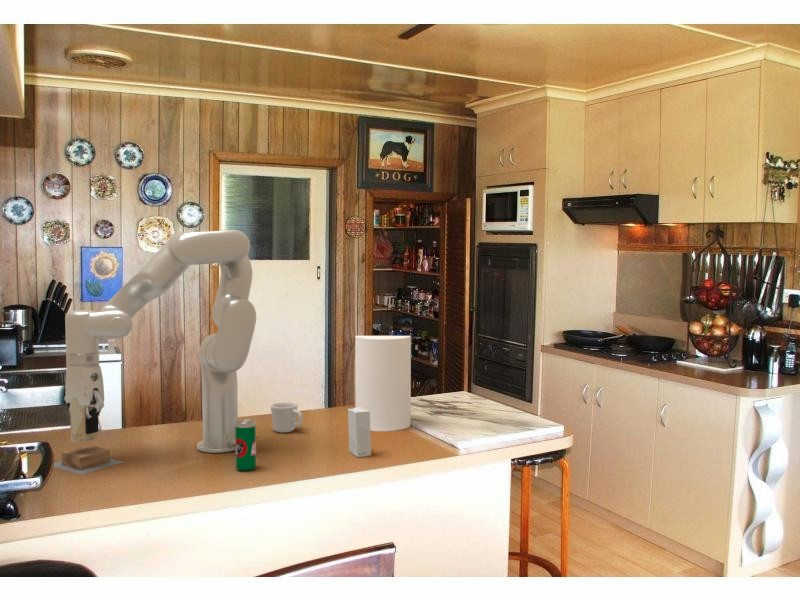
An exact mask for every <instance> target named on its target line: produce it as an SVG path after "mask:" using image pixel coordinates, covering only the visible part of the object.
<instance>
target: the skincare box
mask: <svg viewBox="0 0 800 600" xmlns="http://www.w3.org/2000/svg"><path fill="white" fill-rule="evenodd" d="M347 420H348V421H347V422H348V423H347V425H348V429H347V430H348V447H349V449H348V450H349V453H350V454H352V455H353V456H355V457H356V458H364V457H370V456H371V455H372V441H371V440H372V439H371V436H372V435H371V431H370V411H368V410H366V409H364V408H362V407H357V408H356V407H352V408H351V407H350V408H347Z"/></svg>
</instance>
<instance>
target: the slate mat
mask: <svg viewBox="0 0 800 600" xmlns="http://www.w3.org/2000/svg"><path fill="white" fill-rule="evenodd" d="M53 463H54V466H53V468H57V469H59V470H64V471H66V472H71V473H72V474H77V475H84V474H88V473H91V472H95V471H99V470H101V469H105V468H109V467H112V466H116V465H119V464H123V463H124V461H121V460H118V459H114V458H110V462H108V463H105V464H101V465H98V466H94V467H90V468H87V469H83V470H78V469H75V468H71V467H68V466H64V465H62V460H61V461H57V462H53Z"/></svg>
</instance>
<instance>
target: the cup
mask: <svg viewBox="0 0 800 600" xmlns="http://www.w3.org/2000/svg"><path fill="white" fill-rule="evenodd" d="M270 412H271V420H272V428H273V430H274V431H275V432H276V433H281V434H282V433H290V432H293V431H294V430H295V429H296V427H298V426H301V424H302V423H303V413H302V412H301V411H300V410H298V403H296V402H291V401H290V402H289V401H281V402H275V403H272V404H271V405H270ZM297 416H298V421H297Z"/></svg>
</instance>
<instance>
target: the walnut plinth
mask: <svg viewBox="0 0 800 600" xmlns="http://www.w3.org/2000/svg"><path fill="white" fill-rule="evenodd" d="M110 452H111V451H110V449H109V448H105V447H100V446H97V445H93V444H90V445H85V446H81V447H77V448H74V449H69V450H65V451H62V452H61V453H60V454H61V461H62V465H64V466H68V467H71V468H75V469H78V470H83V469H87V468H90V467H94V466H98V465H101V464H105V463H108V462H110V455H111V454H110Z"/></svg>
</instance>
